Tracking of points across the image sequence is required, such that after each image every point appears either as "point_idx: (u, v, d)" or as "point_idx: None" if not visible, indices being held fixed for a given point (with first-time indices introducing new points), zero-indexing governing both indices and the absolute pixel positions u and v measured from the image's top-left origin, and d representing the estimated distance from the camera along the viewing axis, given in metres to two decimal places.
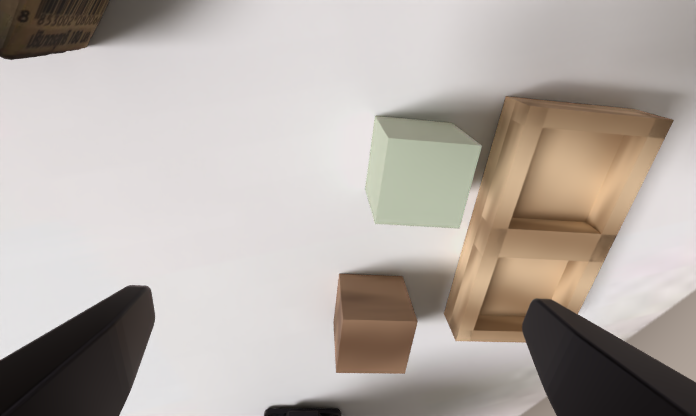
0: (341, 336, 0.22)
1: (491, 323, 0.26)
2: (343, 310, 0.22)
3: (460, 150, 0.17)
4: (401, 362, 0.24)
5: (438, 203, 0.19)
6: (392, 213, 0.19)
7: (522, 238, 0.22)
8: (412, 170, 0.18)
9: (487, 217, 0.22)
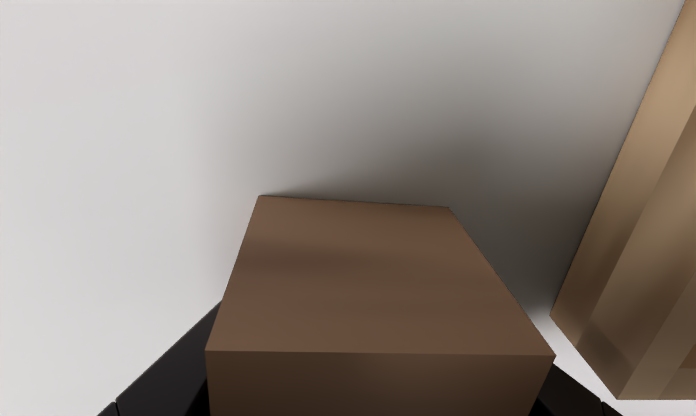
0: None
1: None
2: (225, 307, 0.05)
3: None
4: None
5: None
6: None
7: None
8: None
9: None
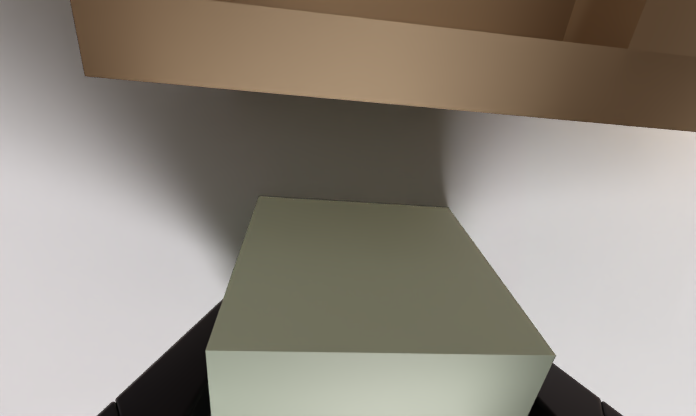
0: None
1: None
2: None
3: (234, 405, 0.05)
4: None
5: None
6: None
7: None
8: None
9: None
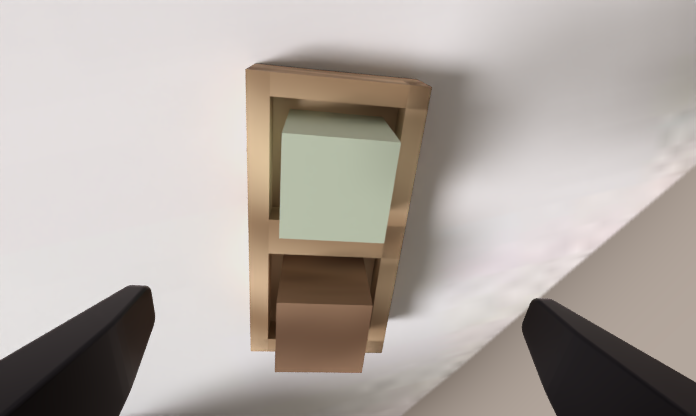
0: (277, 325, 0.18)
1: None
2: (279, 292, 0.18)
3: (289, 158, 0.14)
4: (356, 358, 0.19)
5: (361, 175, 0.15)
6: (371, 226, 0.16)
7: None
8: (316, 210, 0.15)
9: None
